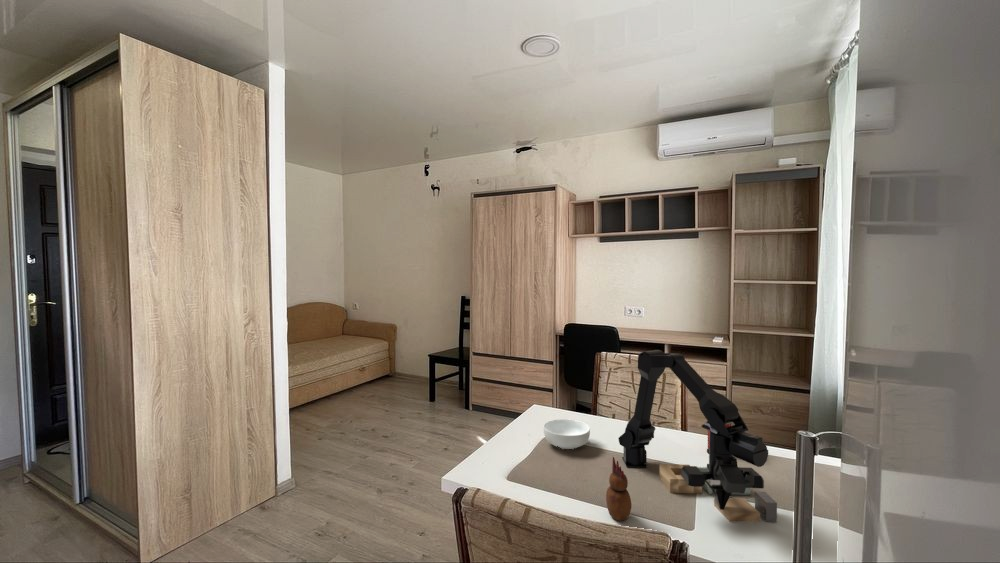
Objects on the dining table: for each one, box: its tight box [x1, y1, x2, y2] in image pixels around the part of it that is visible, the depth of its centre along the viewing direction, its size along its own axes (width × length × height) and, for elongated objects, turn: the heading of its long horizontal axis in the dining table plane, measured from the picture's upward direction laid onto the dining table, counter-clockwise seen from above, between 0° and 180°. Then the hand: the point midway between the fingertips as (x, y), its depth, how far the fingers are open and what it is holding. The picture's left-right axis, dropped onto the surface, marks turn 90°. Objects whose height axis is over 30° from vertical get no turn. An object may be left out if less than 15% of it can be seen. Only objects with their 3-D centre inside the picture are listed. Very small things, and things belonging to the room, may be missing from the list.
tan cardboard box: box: [713, 497, 761, 523], centre depth 105 cm, size 8×7×2 cm
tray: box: [697, 466, 752, 496], centre depth 120 cm, size 12×12×2 cm
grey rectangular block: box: [754, 491, 778, 523], centre depth 104 cm, size 3×5×5 cm, turn 176°
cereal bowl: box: [543, 418, 591, 450], centre depth 147 cm, size 17×17×7 cm
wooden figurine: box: [605, 456, 632, 522], centre depth 104 cm, size 7×6×15 cm
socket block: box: [659, 463, 703, 494], centre depth 119 cm, size 9×9×4 cm
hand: (721, 508), depth 105 cm, fingers closed
